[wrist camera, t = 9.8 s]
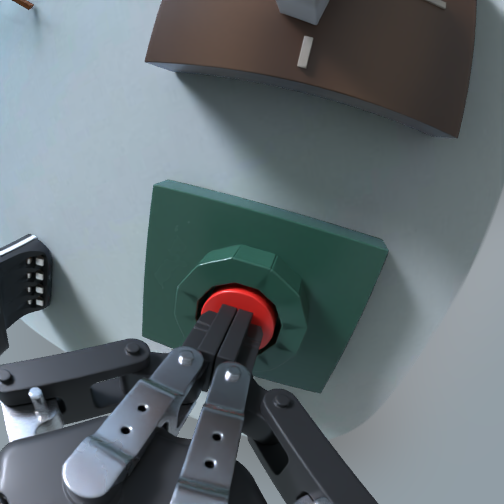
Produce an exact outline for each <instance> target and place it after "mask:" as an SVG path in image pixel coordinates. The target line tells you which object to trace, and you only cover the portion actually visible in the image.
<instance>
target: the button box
mask: <svg viewBox="0 0 504 504" xmlns="http://www.w3.org/2000/svg"><path fill="white" fill-rule="evenodd" d="M388 252H389V250H388V249H387V247H386V245H385V243H384V241H383V240H382V239H379V238H376V237H373V236H370V235H367V234H364V233H360V232H357V231H354V230H351V229H348V228H344V227H341V226H338V225H335V224H331V223H328V222H325V221H321V220H318V219H315V218H311V217H308V216H305V215H301V214H298V213H294V212H291V211H287V210H284V209H280V208H277V207H273V206H269V205H266V204H262V203H259V202H255V201H251V200H247V199H244V198H240V197H236V196H232V195H229V194H225V193H221V192H217V191H213V190H209V189H205V188H201V187H197V186H193V185H189V184H185V183H181V182H176V181H172V180H165V181H163V182H160V183H157V184H154V185H153V193H152V201H151V209H150V218H149V227H148V238H147V249H146V262H145V277H144V296H143V324H142V336H143V337H145V338H148V339H150V340H153V341H155V342H158V343H160V344H163V345H165V346H168V347H170V348H173V349H174V348H176V347H179V346H182V344H183V343H184V341H185V340H186V338H187V336H188V335H189V333H190V332H191V330H192V328H194V325H195V324H196V322H197V321H198V319H199V317H200V316H201V311H202V308H203V305H204V304H205V302H206V301H207V299H208V298H209V296H210V295H211V293H212V292H213V290H214V289H215V287H216V286H219V285H225V284H230V283H238V284H241V285H244V286H248V287H251V288H254V289H257V290H259V291H260V292H261V293H262V294H263V295H265V296H266V297H267V298H268V299H269V300H270V301H271V302H272V303H273V304H274V305H275V306H276V309H277V312H278V317H277V321H276V325H275V329H274V333H273V336H272V338H271V340H270V341H269V343H268V344H267V345H266V346H264V347H263V348H261V349H260V350H259V351H258V354H257V357H256V361H255V364H254V367H253V371H252V375H253V376H256V377H259V378H263V379H266V380H270V381H273V382H277V383H280V384H284V385H288V386H292V387H296V388H300V389H304V390H308V391H312V392H316V393H321V392H322V390H323V389H324V387H325V385H326V383H327V381H328V380H329V378H330V376H331V374H332V372H333V371H334V369H335V367H336V365H337V363H338V361H339V359H340V357H341V355H342V354H343V352H344V350H345V348H346V346H347V344H348V342H349V340H350V338H351V336H352V334H353V332H354V330H355V328H356V326H357V324H358V321H359V319H360V317H361V315H362V313H363V311H364V309H365V306H366V304H367V302H368V300H369V298H370V295H371V293H372V291H373V289H374V286H375V284H376V282H377V279H378V277H379V275H380V272H381V270H382V267H383V265H384V262H385V260H386V257H387V255H388Z"/></svg>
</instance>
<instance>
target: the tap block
mask: <svg viewBox="0 0 504 504" xmlns="http://www.w3.org/2000/svg"><path fill="white" fill-rule="evenodd" d="M476 6H477V0H329V2H328V4H327V6H326V8H325V10H324V12H323V14H322V16H321V18H320V20H319V22H318V24H317V25H314V24H311V23H308V22H306V21H303V20H300V19H297V18H294V17H292V16H289V15H286V14H283V13H280V11H279V8H278V5H277V2H276V0H162V2H161V5H160V8H159V11H158V14H157V17H156V21H155V24H154V28H153V31H152V35H151V38H150V42H149V46H148V50H147V54H146V58H145V62H146V63H149V64H152V65H155V66H158V67H161V68H164V69H167V70H170V71H172V72H184V73H194V74H203V75H211V76H218V77H225V78H232V79H238V80H244V81H250V82H256V83H261V84H266V85H271V86H276V87H281V88H285V89H290V90H294V91H298V92H302V93H306V94H310V95H314V96H318V97H322V98H325V99H329V100H332V101H336V102H339V103H343V104H346V105H349V106H352V107H356V108H359V109H362V110H365V111H368V112H371V113H374V114H377V115H379V116H382V117H385V118H388V119H390V120H393V121H396V122H398V123H401V124H404V125H406V126H409V127H411V128H414V129H416V130H418V131H421V132H423V133H426V134H428V135H430V136H433V137H444V138H458V135H459V131H460V127H461V122H462V118H463V113H464V108H465V103H466V97H467V92H468V86H469V80H470V73H471V66H472V58H473V50H474V40H475V27H476Z"/></svg>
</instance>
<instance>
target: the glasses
mask: <svg viewBox="0 0 504 504" xmlns="http://www.w3.org/2000/svg"><path fill="white" fill-rule="evenodd" d="M12 1H14V2H16V3H18V4H19V5H21V6H23V7H25V8H26V9H28V10H29V9H31V8H32V7H33V6H34V4H32V3H30V2H29V1H27V0H12Z"/></svg>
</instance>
